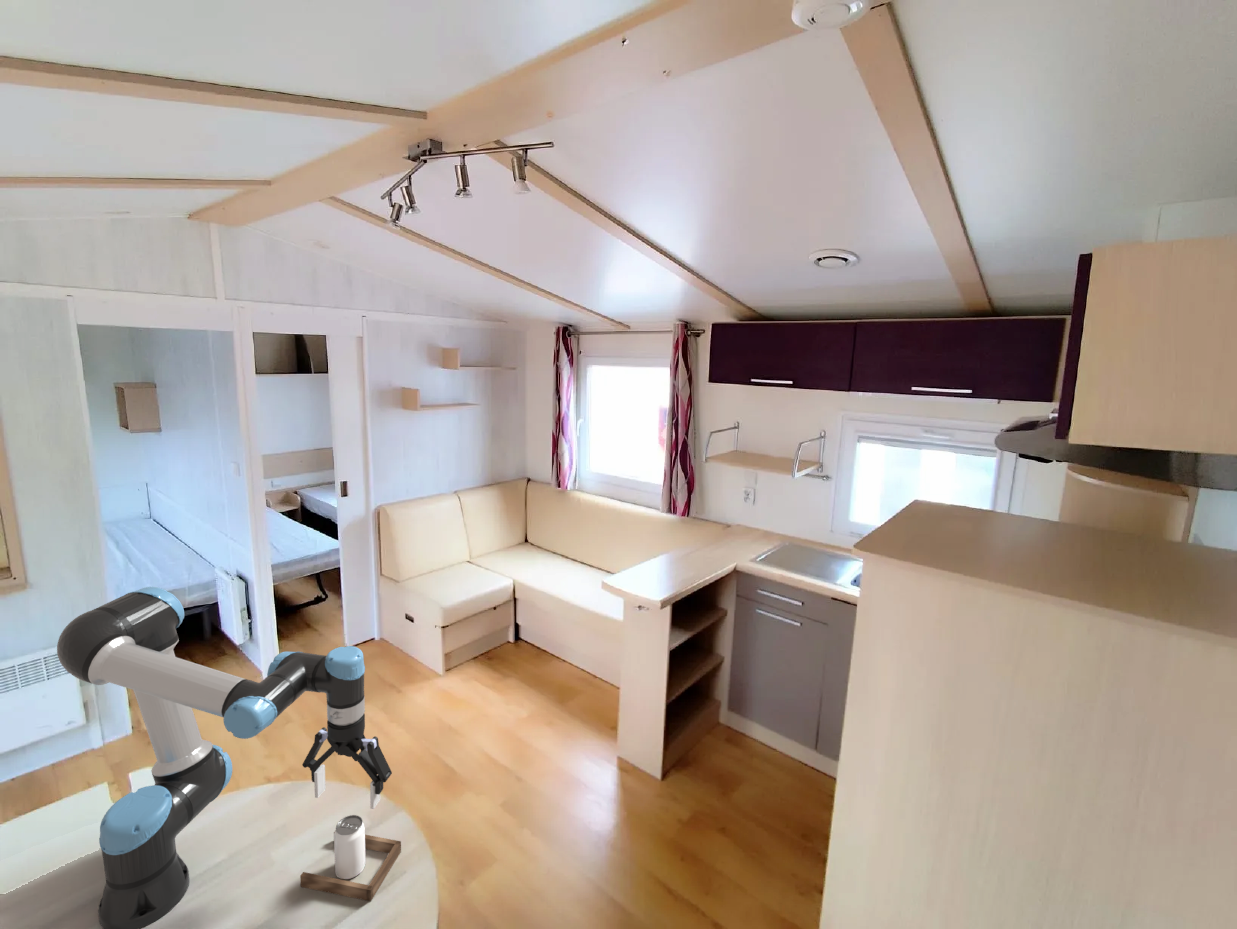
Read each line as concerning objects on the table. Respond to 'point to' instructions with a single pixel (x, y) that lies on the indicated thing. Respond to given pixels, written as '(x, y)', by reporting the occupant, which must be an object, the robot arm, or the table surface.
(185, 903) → the table surface
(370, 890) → the open wooden frame
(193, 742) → the robot arm
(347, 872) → the can
